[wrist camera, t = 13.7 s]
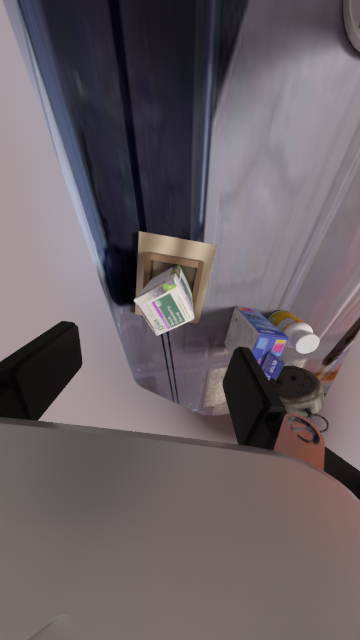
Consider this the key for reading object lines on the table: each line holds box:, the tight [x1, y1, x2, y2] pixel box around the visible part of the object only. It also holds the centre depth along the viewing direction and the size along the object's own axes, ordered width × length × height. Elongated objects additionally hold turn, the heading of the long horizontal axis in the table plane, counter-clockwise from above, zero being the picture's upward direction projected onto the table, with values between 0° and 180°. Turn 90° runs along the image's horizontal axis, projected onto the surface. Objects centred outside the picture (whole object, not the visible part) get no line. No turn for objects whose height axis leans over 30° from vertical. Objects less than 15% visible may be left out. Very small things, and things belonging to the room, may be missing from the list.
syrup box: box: [134, 264, 194, 336], centre depth 27 cm, size 6×6×14 cm
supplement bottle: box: [268, 310, 319, 354], centre depth 33 cm, size 5×5×10 cm
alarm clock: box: [269, 366, 329, 433], centre depth 36 cm, size 11×5×16 cm, turn 113°
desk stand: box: [135, 231, 217, 324], centre depth 32 cm, size 14×16×5 cm
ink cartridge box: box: [224, 306, 289, 380], centre depth 32 cm, size 10×6×14 cm, turn 172°
